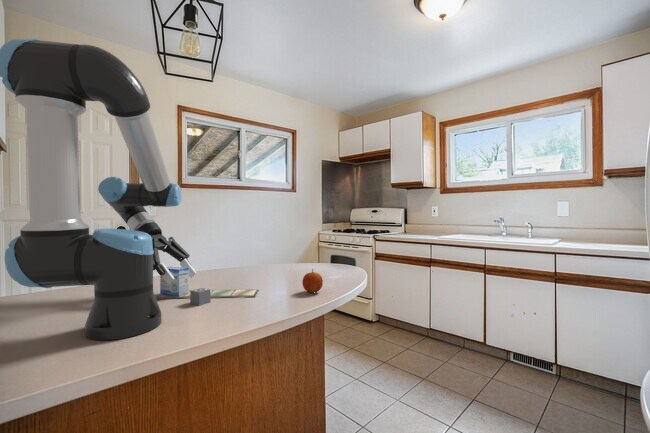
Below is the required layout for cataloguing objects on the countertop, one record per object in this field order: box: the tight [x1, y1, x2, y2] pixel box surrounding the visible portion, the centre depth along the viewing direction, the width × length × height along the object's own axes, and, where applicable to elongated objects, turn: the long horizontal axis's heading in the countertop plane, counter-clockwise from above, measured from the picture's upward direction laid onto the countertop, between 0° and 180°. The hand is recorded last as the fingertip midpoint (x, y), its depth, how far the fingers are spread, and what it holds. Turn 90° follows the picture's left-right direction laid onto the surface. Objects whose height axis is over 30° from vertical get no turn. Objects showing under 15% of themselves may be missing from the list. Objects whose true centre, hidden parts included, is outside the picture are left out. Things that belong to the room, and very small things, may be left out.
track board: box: [155, 288, 260, 300], centre depth 100 cm, size 31×9×1 cm, turn 94°
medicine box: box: [159, 266, 190, 296], centre depth 99 cm, size 8×4×9 cm, turn 72°
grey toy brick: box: [189, 287, 212, 307], centre depth 91 cm, size 4×4×4 cm
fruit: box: [301, 268, 324, 294], centre depth 102 cm, size 7×7×8 cm
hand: (183, 278), depth 98 cm, fingers open, 9 cm apart
